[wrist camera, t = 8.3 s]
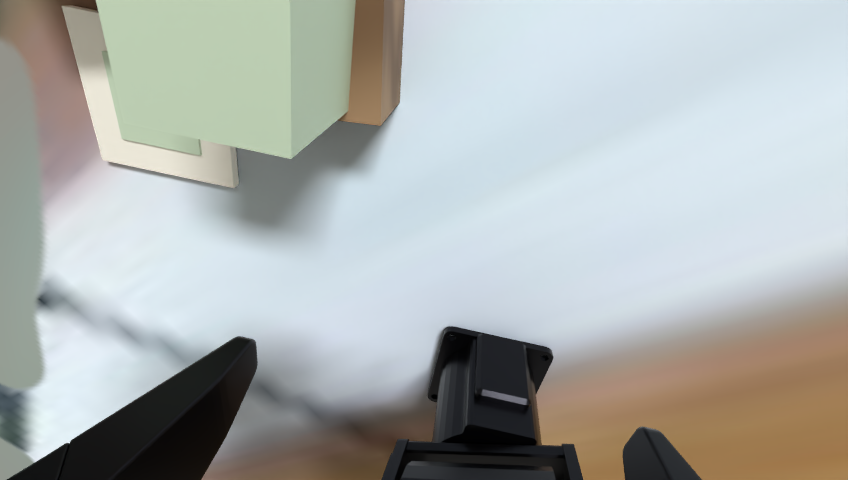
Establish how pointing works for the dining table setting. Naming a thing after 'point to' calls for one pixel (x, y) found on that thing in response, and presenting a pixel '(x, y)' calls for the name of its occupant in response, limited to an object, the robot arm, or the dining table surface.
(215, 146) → the swatch tile
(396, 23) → the walnut block
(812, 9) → the dining table surface
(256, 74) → the sage block
